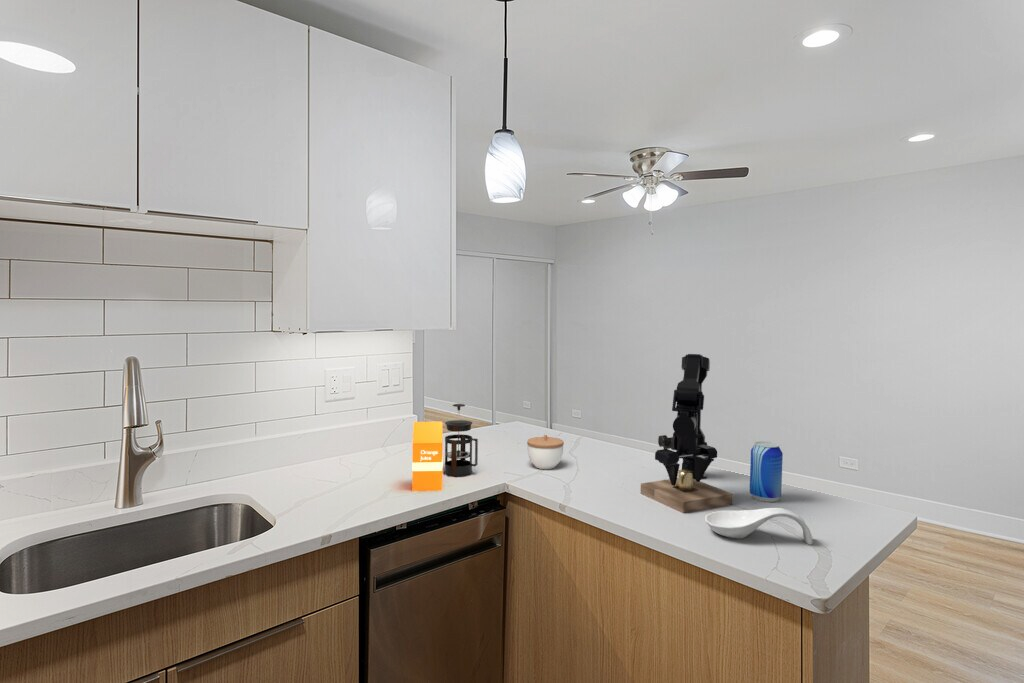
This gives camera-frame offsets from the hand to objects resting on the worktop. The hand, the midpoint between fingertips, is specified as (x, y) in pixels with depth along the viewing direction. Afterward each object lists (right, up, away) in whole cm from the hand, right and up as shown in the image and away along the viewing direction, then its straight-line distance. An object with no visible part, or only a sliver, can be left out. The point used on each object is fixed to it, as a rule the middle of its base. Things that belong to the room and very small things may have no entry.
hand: (685, 483), depth 161 cm
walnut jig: (0, -5, 0) cm, 4 cm away
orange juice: (-76, -3, +8) cm, 76 cm away
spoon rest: (+9, -6, -26) cm, 29 cm away
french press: (-68, -3, +23) cm, 72 cm away
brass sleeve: (0, -5, 0) cm, 5 cm away
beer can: (+24, -5, +2) cm, 24 cm away
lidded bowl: (-39, -3, +33) cm, 51 cm away
